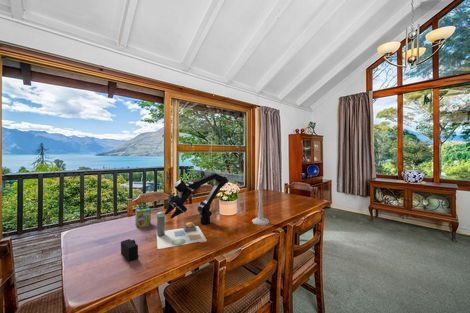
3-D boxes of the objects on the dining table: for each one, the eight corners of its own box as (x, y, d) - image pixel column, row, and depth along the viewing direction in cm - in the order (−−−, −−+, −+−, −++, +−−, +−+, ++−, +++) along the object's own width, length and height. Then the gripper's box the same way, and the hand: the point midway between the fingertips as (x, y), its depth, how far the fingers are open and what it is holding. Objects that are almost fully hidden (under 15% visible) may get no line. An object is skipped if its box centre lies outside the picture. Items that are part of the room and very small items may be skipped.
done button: (192, 225, 134) (192, 221, 134) (193, 227, 130) (193, 224, 130) (185, 226, 133) (185, 222, 132) (186, 228, 128) (186, 225, 128)
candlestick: (268, 219, 153) (269, 181, 152) (269, 225, 140) (270, 183, 139) (252, 218, 154) (252, 180, 153) (252, 224, 142) (252, 183, 141)
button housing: (193, 226, 136) (193, 223, 136) (196, 230, 130) (196, 227, 129) (183, 228, 133) (183, 225, 133) (184, 232, 127) (184, 229, 127)
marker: (164, 232, 126) (164, 211, 125) (165, 235, 121) (165, 213, 121) (156, 234, 124) (156, 212, 123) (157, 237, 119) (157, 214, 119)
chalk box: (136, 228, 134) (136, 207, 133) (135, 224, 142) (134, 204, 141) (151, 225, 139) (151, 205, 139) (148, 221, 147) (148, 202, 146)
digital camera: (140, 257, 98) (140, 244, 97) (129, 262, 94) (128, 248, 93) (132, 250, 104) (132, 237, 104) (121, 254, 100) (120, 241, 100)
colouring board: (197, 226, 138) (197, 225, 138) (206, 241, 116) (206, 240, 116) (156, 232, 127) (156, 231, 127) (157, 250, 105) (157, 248, 105)
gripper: (170, 187, 135) (153, 205, 128) (182, 191, 121) (164, 212, 114) (180, 196, 141) (165, 215, 134) (193, 202, 127) (177, 222, 120)
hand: (168, 216), depth 125 cm, fingers open, 9 cm apart
